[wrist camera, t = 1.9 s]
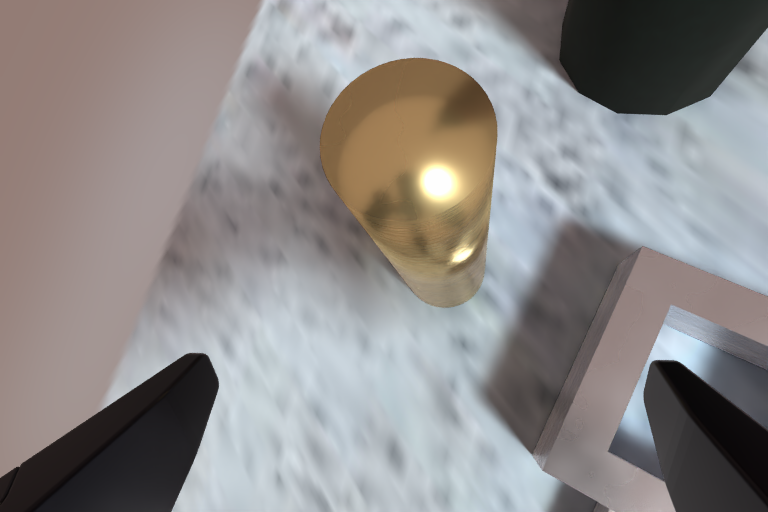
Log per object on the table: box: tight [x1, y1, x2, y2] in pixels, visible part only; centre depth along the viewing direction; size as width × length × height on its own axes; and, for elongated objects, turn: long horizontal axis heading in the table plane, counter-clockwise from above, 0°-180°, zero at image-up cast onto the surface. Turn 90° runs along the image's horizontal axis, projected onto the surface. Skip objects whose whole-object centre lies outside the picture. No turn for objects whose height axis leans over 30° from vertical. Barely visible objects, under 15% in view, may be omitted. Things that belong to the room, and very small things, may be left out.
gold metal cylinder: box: [320, 58, 497, 308], centre depth 15 cm, size 4×4×12 cm
